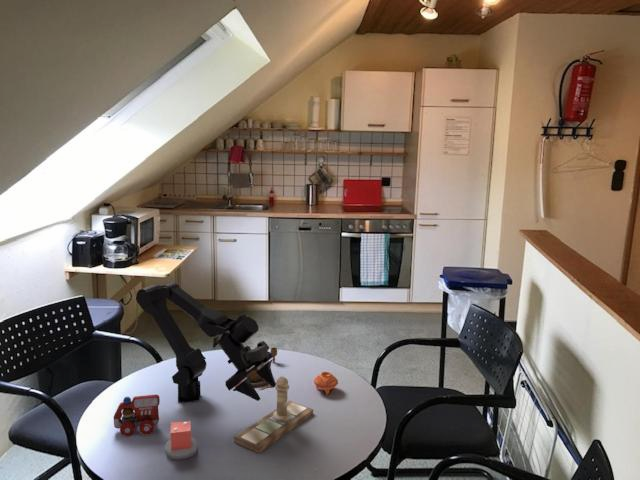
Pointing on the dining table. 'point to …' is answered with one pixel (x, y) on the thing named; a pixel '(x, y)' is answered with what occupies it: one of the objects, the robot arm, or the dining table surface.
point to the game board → (272, 428)
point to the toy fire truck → (137, 414)
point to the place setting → (256, 377)
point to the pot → (325, 381)
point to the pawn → (281, 400)
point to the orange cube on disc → (181, 441)
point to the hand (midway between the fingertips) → (267, 393)
